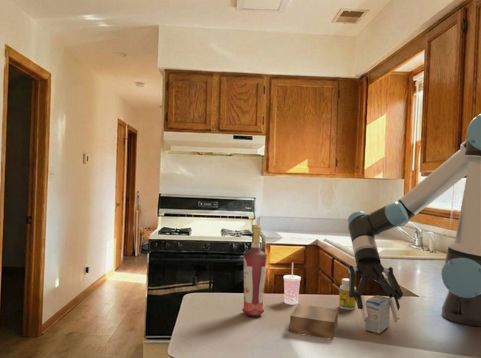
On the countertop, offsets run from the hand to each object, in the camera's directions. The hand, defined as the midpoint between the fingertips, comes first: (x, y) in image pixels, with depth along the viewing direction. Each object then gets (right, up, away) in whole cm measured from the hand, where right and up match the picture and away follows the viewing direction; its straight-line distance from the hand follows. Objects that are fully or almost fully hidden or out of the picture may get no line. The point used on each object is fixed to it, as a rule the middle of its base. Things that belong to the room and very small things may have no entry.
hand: (381, 319), depth 115 cm
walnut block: (-19, -4, +2) cm, 19 cm away
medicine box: (0, -4, +3) cm, 5 cm away
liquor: (-36, -3, +12) cm, 38 cm away
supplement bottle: (-4, -4, +23) cm, 24 cm away
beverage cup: (-22, -4, +27) cm, 35 cm away
